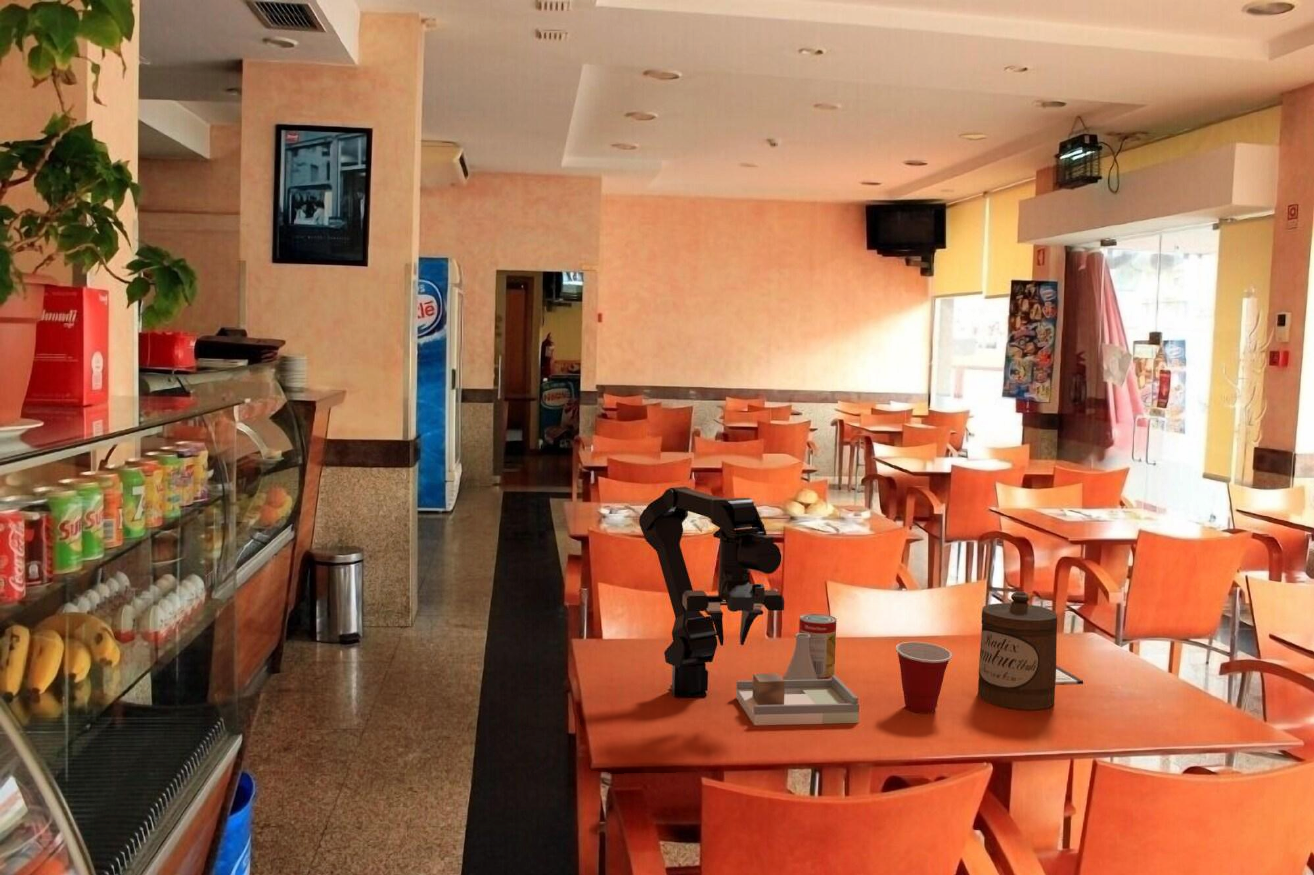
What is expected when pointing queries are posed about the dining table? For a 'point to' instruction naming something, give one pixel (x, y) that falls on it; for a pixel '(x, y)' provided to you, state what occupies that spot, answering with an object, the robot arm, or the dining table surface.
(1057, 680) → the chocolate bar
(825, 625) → the canned food
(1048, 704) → the wooden container
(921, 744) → the dining table surface
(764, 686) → the walnut block
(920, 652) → the plastic cup
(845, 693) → the box
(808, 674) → the flask
